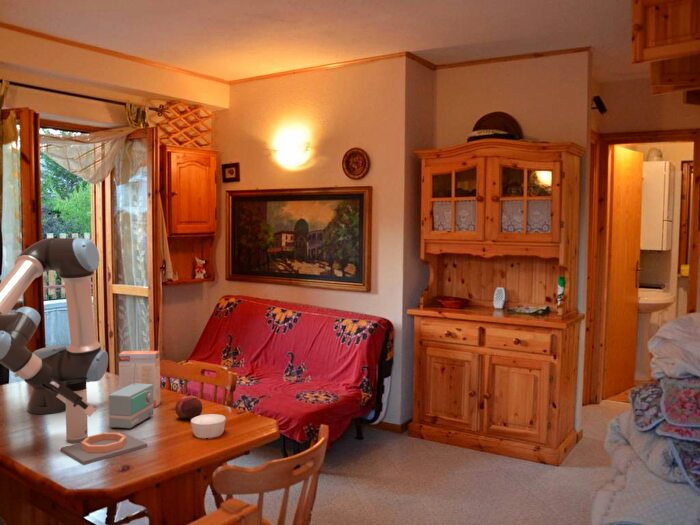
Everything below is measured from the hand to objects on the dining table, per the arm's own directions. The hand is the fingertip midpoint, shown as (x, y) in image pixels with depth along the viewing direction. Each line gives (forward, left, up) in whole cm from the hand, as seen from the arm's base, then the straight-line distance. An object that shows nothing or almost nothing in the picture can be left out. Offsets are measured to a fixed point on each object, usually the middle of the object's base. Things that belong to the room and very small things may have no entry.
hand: (83, 408), depth 200 cm
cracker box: (-20, +31, -10) cm, 38 cm away
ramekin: (+26, +30, -10) cm, 41 cm away
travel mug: (0, -2, -10) cm, 10 cm away
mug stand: (+14, 0, -10) cm, 17 cm away
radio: (-3, +19, -10) cm, 22 cm away
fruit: (+7, +35, -10) cm, 37 cm away
